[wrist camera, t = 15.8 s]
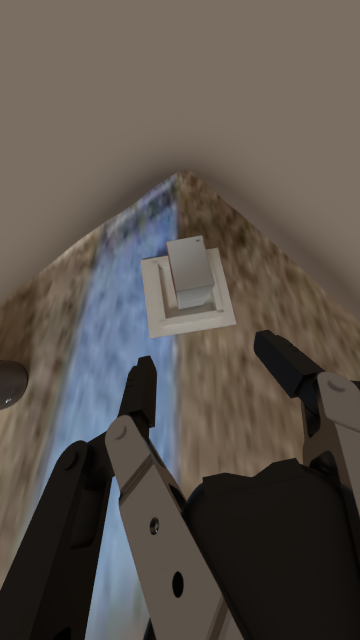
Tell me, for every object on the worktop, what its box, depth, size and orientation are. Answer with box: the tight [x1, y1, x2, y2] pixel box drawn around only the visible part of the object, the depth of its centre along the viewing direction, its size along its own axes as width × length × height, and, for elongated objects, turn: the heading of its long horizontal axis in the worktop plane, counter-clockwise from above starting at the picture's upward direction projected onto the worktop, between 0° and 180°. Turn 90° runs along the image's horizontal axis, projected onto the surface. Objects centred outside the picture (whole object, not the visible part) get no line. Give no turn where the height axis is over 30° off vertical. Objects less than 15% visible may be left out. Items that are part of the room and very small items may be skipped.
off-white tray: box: [141, 248, 236, 338], centre depth 28 cm, size 18×18×4 cm
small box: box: [166, 235, 215, 310], centre depth 23 cm, size 8×6×10 cm
